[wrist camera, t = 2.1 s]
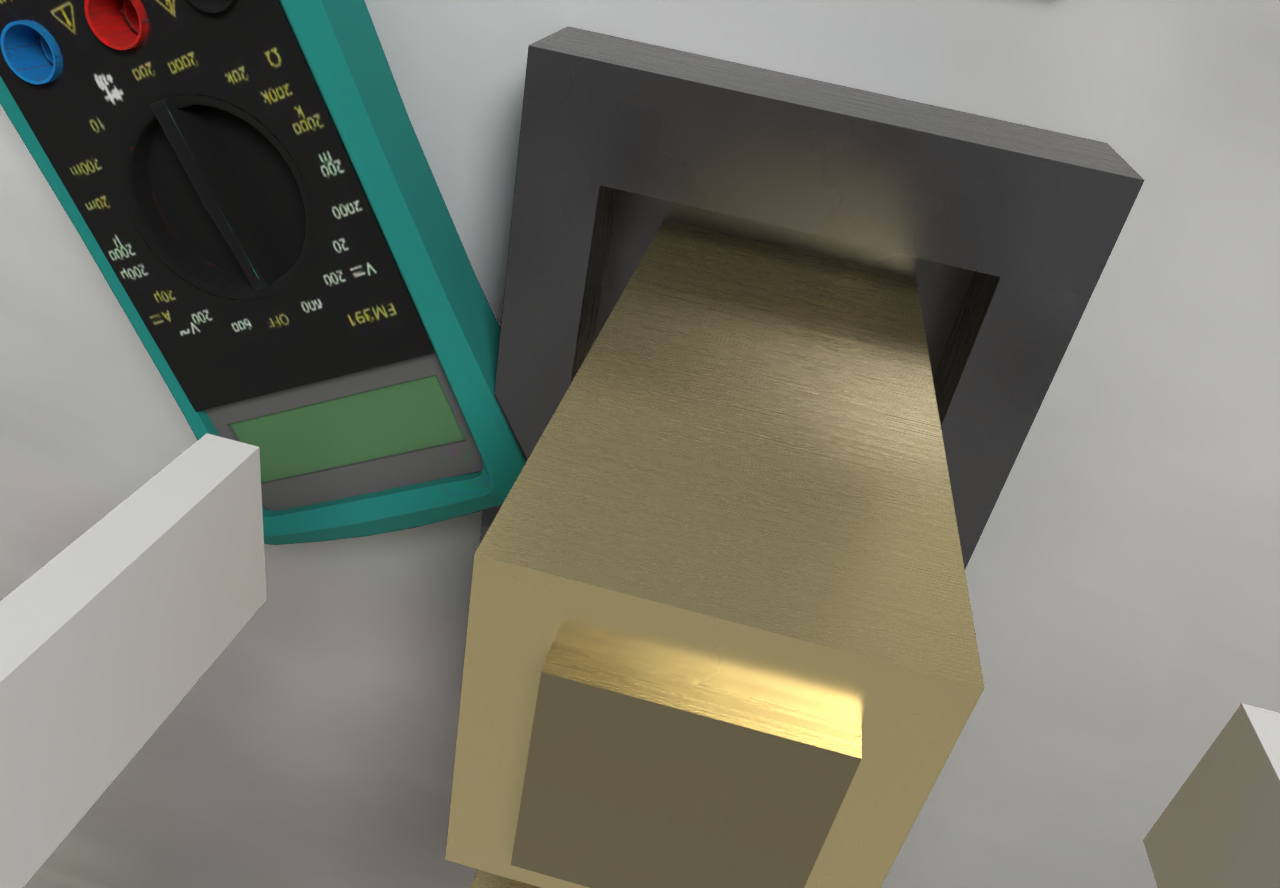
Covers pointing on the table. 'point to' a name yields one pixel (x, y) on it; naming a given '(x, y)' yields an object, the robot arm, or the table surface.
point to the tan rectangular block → (721, 591)
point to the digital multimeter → (273, 246)
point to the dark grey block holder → (804, 224)
